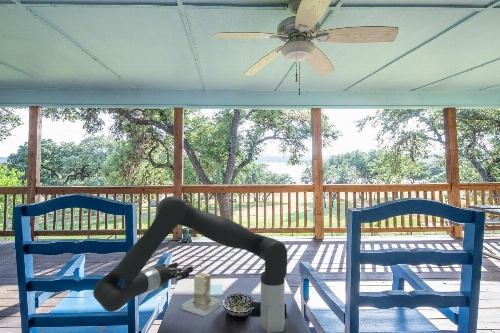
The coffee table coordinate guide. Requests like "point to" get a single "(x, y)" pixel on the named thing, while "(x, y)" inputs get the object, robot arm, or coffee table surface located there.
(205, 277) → the maple peg
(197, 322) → the coffee table surface
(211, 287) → the pale blue plate
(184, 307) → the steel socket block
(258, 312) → the pipe connector
